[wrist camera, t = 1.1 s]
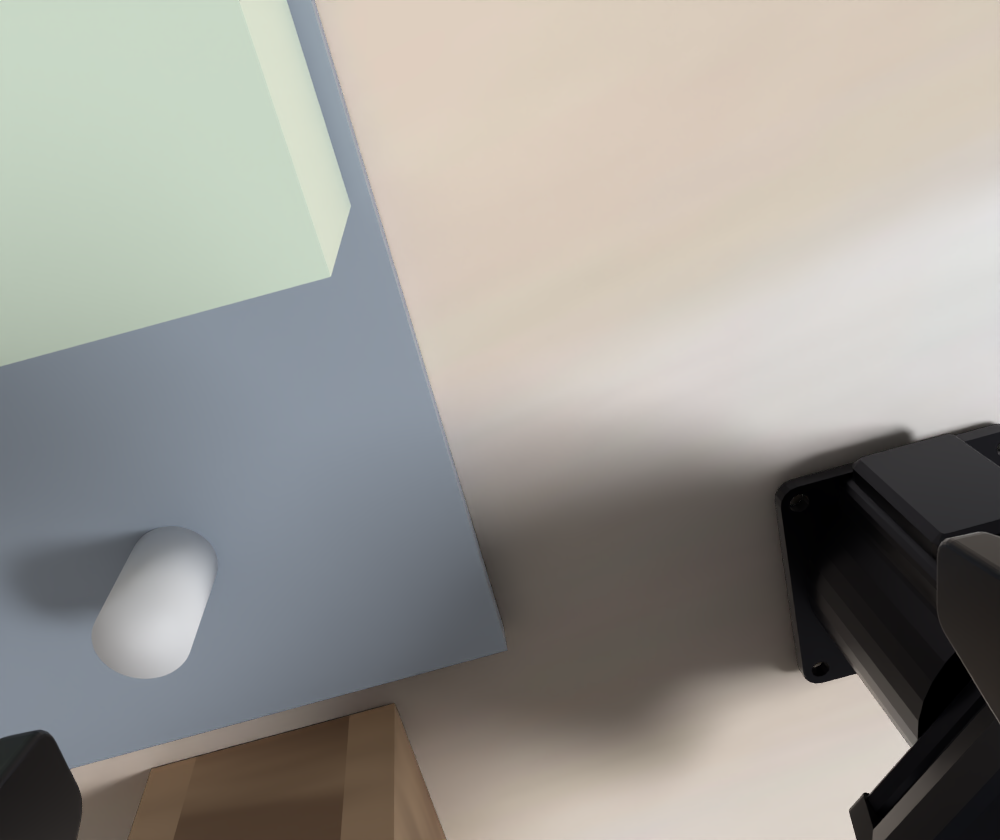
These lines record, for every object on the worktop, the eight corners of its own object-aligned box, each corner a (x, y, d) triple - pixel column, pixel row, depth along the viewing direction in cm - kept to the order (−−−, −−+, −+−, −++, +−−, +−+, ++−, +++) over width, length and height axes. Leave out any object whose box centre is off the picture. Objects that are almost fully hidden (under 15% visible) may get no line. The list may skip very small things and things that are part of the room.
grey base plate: (503, 627, 24) (522, 731, 21) (4, 762, 24) (-65, 889, 21) (200, -379, 16) (139, -509, 12) (-580, -168, 16) (-879, -231, 12)
